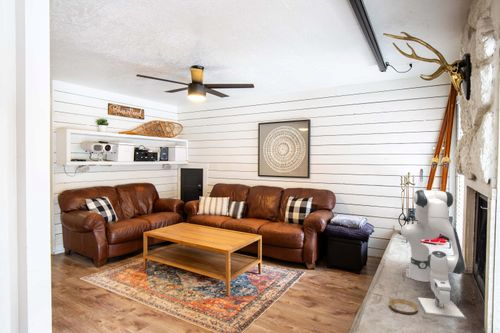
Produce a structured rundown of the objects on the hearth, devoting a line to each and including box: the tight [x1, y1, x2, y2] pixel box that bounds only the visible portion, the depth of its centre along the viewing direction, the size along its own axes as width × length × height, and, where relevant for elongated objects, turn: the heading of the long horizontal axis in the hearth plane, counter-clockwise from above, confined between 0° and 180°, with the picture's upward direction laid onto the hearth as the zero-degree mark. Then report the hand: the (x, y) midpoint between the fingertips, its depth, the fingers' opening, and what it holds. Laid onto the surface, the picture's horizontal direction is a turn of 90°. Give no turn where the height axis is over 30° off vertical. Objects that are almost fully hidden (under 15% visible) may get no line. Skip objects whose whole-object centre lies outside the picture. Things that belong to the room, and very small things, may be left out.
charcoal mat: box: [415, 296, 468, 320], centre depth 166 cm, size 20×20×1 cm
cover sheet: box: [417, 297, 465, 319], centre depth 166 cm, size 18×18×5 cm
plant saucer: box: [388, 298, 419, 315], centre depth 166 cm, size 15×15×3 cm
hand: (439, 304), depth 166 cm, fingers closed on cover sheet, 3 cm apart
